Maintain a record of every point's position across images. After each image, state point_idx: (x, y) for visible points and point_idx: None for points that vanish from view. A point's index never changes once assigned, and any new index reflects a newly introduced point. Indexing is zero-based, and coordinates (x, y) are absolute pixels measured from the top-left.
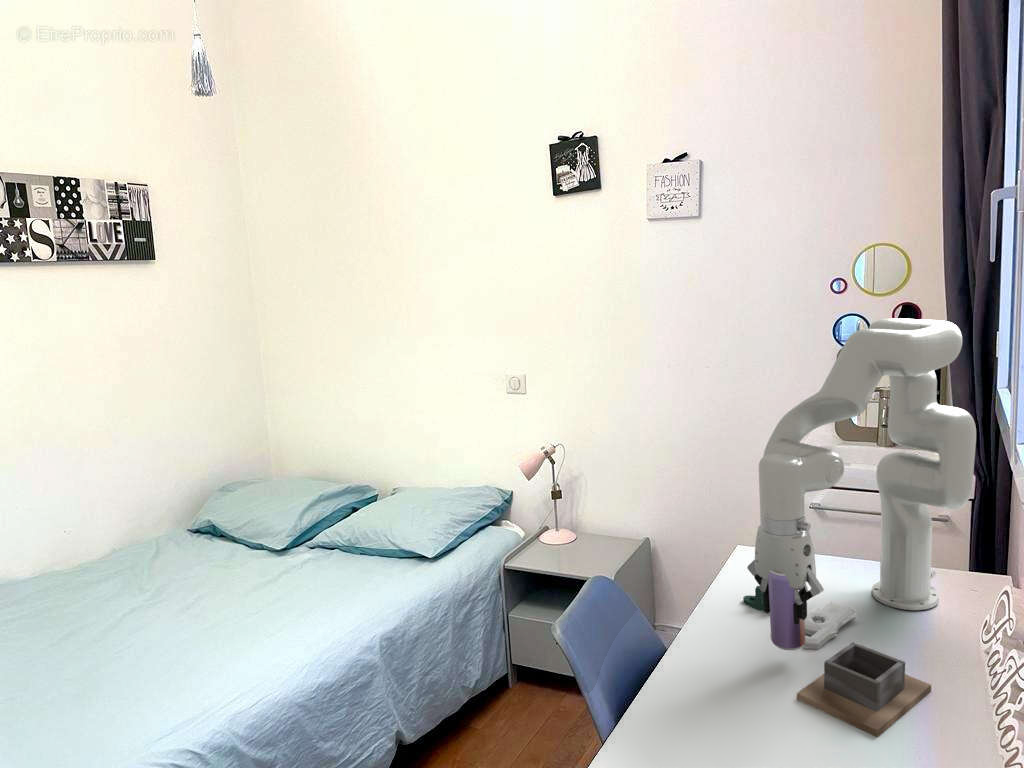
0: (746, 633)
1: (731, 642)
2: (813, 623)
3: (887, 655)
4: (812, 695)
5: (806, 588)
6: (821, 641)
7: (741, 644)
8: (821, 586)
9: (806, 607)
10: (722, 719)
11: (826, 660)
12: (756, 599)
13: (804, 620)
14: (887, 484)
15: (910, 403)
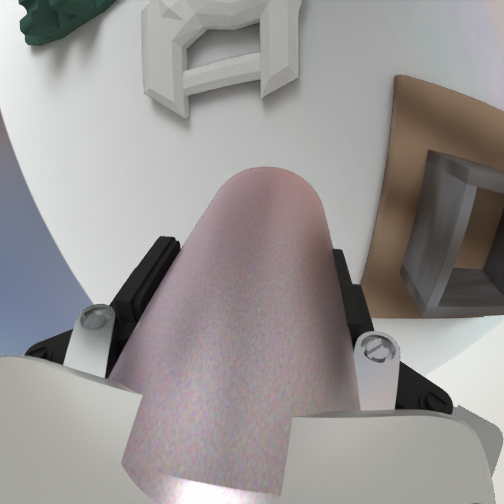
0: (110, 145)
1: (117, 207)
2: (234, 2)
3: None
4: (385, 306)
5: (390, 408)
6: (298, 56)
7: (136, 198)
8: (496, 456)
9: (369, 320)
10: None
11: (426, 309)
12: (46, 34)
13: (331, 242)
14: None
15: None
